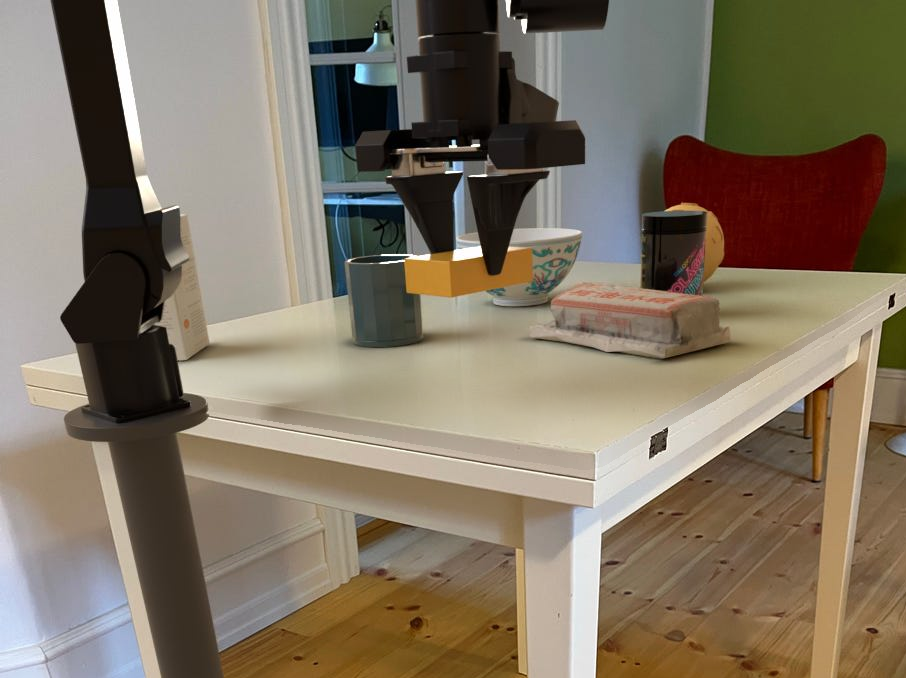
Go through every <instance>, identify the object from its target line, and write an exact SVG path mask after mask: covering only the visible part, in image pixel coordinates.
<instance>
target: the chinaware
mask: <svg viewBox="0 0 906 678" xmlns="http://www.w3.org/2000/svg"><path fill="white" fill-rule="evenodd" d="M582 237H583V232H582V231H581V230H578V229H574V228H561V227H533V228H532V227H531V228H530V227H529V228H526V227H525V228H514V230H513V233H512V237H511V240H510V244H509V246H510V247H528V248H532V260H533V281H532V282H527V283H522V284H517V285H512V286H507V287H502V288H497V289H492V290H487V291H485V292H486V293H488V294H489V295H490V296H492V302H493V304H494V305H496V306H500V307H529V306H538V305H542V304H546V303H547V302H548V301H549V294H550V293H551V292H552V291H554V290H556V288H557V287H559V286H560V284H562V282H563V281H565V279H566V278H567V276H568V275H569V274H570V272H571V270H572V268H573V267H574V264H575V262H576V260H577V257H578V254H579V252H580V248H581V247H580V246H581V243H582ZM455 240H456V245H457V250H460V249H466V248H473V247H479V246H480V241H479V236H478V231H477V232H470V233H464V234H461V235H458V236H456V238H455Z"/></svg>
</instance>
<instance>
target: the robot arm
mask: <svg viewBox="0 0 906 678" xmlns="http://www.w3.org/2000/svg"><path fill="white" fill-rule="evenodd" d="M50 5H51V11H52V15H53V20H54V25H55V30H56V34H57V40H58V45H59V46H58V47H59V50H60V56H61V61H62V65H63V71H64V77H65V80H66V85H67V90H68V91H67V92H68V95H69V101H70V106H71V111H72V116H73V120H74V126H75V131H76V136H77V137H76V138H77V141H78V142H77V143H78V146H79V151H80V152H79V153H80V157H81V161H82V167H83V172H84V177H85V185H86V186H85V196H84V206H83V214H82V222H81V249H82V252H81V253H82V273H83V280H84V282H83V284H82V285H81V286H80V288H79V289H78V290H77V292H76V293H75V294H74V296H73V297H72V298H71V300H70V301H69V303H68V304H67V306H66V307H65V308H64V310H63V311H62V313H61V314H60V316H59V319H60V322H61V324H62V325H63V327H64V328H65V330H66V332H67V333H68V335H69V337H70V339H71V340H72V342H73V343H74V344H75V349H76V353H77V359H78V362H79V367H80V371H81V374H82V379H83V383H84V388H85V392H86V396H87V400H88V404H89V405H86V404H84V405H85V406H83V405H81V406H82V407H81V406H80V407H81V410H82V413H85V414H88V415H91V416H95V417H98V418H101V419H104V420H107V421H110V422H113V423H126V422H130V421H134V420H138V419H142V418H146V417H150V416H155V415H159V414H163V413H167V412H171V411H175V410H179V409H183V408H188V407H190V406H191V404H190V400H186V399H182V398H179V397H182V396H183V394H184V393H185V392H184V388H183V382H182V377H181V372H180V367H179V361H178V360H177V355H176V349H175V346H173V345H172V344H169V340H168V335H167V329H166V327H162V326H157V325H154V324H155V323H157V322H160V321H161V320H162V317H163V311H164V305H165V300H167V299H168V298H170V297H171V296H172V295H173V293H174V292H175V291H176V289H177V288H178V286H179V284H180V281H181V277H182V264H184V263H186V262H188V261H189V257H188V255H187V253H186V252H185V250H184V247H183V244H182V240H181V233H180V214H181V210H180V209H181V208H180V206H179V205H177V204H174V205H169V206H166V207H162V206H161V204H160V201H159V199H158V198H157V195H156V193H155V192H154V189H153V187H152V185H151V182H150V179H149V177H148V172H147V165H146V160H145V155H144V149H143V142H142V136H141V130H140V124H139V119H138V113H137V106H136V102H135V97H134V91H133V85H132V78H131V73H130V72H131V71H130V67H129V61H128V55H127V50H126V44H125V38H124V33H123V27H122V20H121V15H120V9H119V3H118V0H50ZM609 5H610V0H505V7H506V14H507V17H508V18H513V20H514V21H521V27H522V32H523V34H527V35H528V34H543V33H567V32H582V31H602V30H604V29H605V26H606V24H607V18H608V12H609V7H610V6H609ZM415 14H416V29H417V44H418V46H417V47H418V55H417V54H416V55H409V56H406V66H407V74H419V75H420V89H421V90H420V91H421V106H422V120H423V121H414V122H412V121H411V128H407V129H390V130H389V129H388V130H387V129H386V130H369V131H368V130H367V131H362V133H361V134H360V137H359V138H358V140H357V142H356V143H355V145H354V148H355V159H356V170H357V172H358V173H363V172H365V173H366V172H369V173H371V172H385V171H386V170H391V175H390V176H384V182H385V184H386V185H391V186H392V187H393V189H394V190H395V192H396V194H397V195H398V197H399V199H400V200H401V202H402V204H403V205H404V207H405V209H406V210H407V212H408V213H409V215H410V217H411V219H412V220H413V223H414V224H415V226H416V228H417V229H418V232H419V233H420V236H421V237H422V239H423V241H424V243H425V245H426V247H427V249H428V250H429V253H430V254H435V253H441V252H448V251H454V250H455V234H454V233H455V231H454V230H455V229H454V196H455V195H454V194H455V193H456V190H457V188H458V186H459V184H460V182H461V180H462V178H463V175H464V171H446V170H447V169H446V163H450V162H452V163H455V162H456V163H459V162H460V163H462V162H487V163H485V174H478V175H476V174H475V175H467V176H466V181H467V185H468V191H469V196H470V200H471V205H472V210H473V215H474V219H475V226H476V230H477V232H478V236H479V241H480V246H481V251H482V256H483V259H484V262H485V265H486V269H487V272H488V275H490V276H494V275H499V274H500V273H501V272H502V268H503V265H504V261H505V258H506V254H507V251H508V247H509V244H510V240H511V237H512V233H513V230H514V229H515V226H516V223H517V219H518V216H519V214H520V211H521V208H522V206H523V203H524V201H525V198H526V197H527V196H528V194H529V193H530V192H531V191H532V189H533V188H534V187H535V186H536V185H537V184H538V182H539V181H540V180H546V179H548V177H549V175H550V173H551V170H544V169H549V168H558V167H570V166H580V165H586V136H585V133H584V131H583V130H582V129H581V126H580V125H579V124H578V122H577V120H576V119H575V120H574V119H572V120H570V119H569V120H557V116H558V111H559V106H560V102H559V101H558V100H557V99H556V98H554V97H552V96H550V95H549V94H547V93H546V92H544V91H542V90H540V89H538V88H537V87H536V86H533V85H532V84H529V83H527V82H524V81H522V80H519V79H518V78H517V74H516V61H515V58H514V57H513V51H506V50H505V51H503V50H502V51H501V47H500V46H501V45H500V44H501V43H500V41H501V40H500V21H499V20H500V19H499V18H500V17H499V15H500V14H499V0H415ZM477 140H479V143H478V144H473V141H477ZM450 141H455V145H450Z"/></svg>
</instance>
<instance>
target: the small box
mask: <svg viewBox="0 0 906 678" xmlns="http://www.w3.org/2000/svg"><path fill="white" fill-rule="evenodd" d="M190 228H191V227H190V223H189V216H188V214H185V213H180V233H181V240H182V244H183V247H184V250H185V252H186V253H187V255H188V257H189V261H188V262H186V263H184V264H182V277H181V281H180V284H179V286H178V288H177V289H176V291H175V292H174V293H173V295H172V296H171V297H170V298H168V299H167V300H165V305H164V311H163V317H162V320H161V321H160V322H157V323H155V324H154V325H157V326H162V327H166V329H167V335H168V340H169V344H172V345H173V346H175V349H176V355H177V360H178V362H179V361H188V360H189V359H190V358H191V357H193V356H194V355H196V354H197V353H198V352H200V351H201V350H203V349H204V348H207V346H209V345H210V344H211V342H210V337H209V331H208V326H207V319H206V315H205V310H204V304H203V298H202V293H201V292H202V291H201V288H200V286H201V285H200V280H199V275H198V268H197V263H196V256H195V252H194V246H193V240H192V234H191V229H190Z"/></svg>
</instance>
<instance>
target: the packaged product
mask: <svg viewBox="0 0 906 678" xmlns="http://www.w3.org/2000/svg"><path fill="white" fill-rule="evenodd" d="M550 311H551V312H552V316H553V319H554V320H551V321H547V322H542V323H537V325H535V326H534V325H533V326H532V325H531V326H530V325H529V326H528V329H529V337H530V338H534V339H541V340H548V341H554V342H555V341H556V342H563V343H566V344H568V343H569V344H572V345H573V344H574V345H577V346H578V345H579V346H584V347H588V348H594V349H597V350H600V351H603V352H606V353H609V352H616V353H622V354H629V355H635V356H641V357H647V358H653V359H658V360H662V359H667V358H670V357H675V356H678V355H679V356H680V355H683V354H687V353H691V352H697V351H701V350H705V349H708V348H712V347H715V346H720V345H723V344H727V343H730V342H731V330H730V325H728V326H726V327H725V326H724V327H722V326H721V325H720V316H719V314H720V312H721V307H720V300H719V299H718V298H716V297H712V296H705V295H703V296H700V295H690V294H683V293H676V292H668V291H659V290H650V289H641V288H640V287H634V286H633V287H631V286H624V285H616V284H609V283H608V284H607V283H601V282H580V283H577V284H575V285H573V286H572V287H570V288H569V289H567V290H565V291H564V292H562V293H559V294H558V295H556V296H555V297H554V298H553V299H551V301H550Z"/></svg>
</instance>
